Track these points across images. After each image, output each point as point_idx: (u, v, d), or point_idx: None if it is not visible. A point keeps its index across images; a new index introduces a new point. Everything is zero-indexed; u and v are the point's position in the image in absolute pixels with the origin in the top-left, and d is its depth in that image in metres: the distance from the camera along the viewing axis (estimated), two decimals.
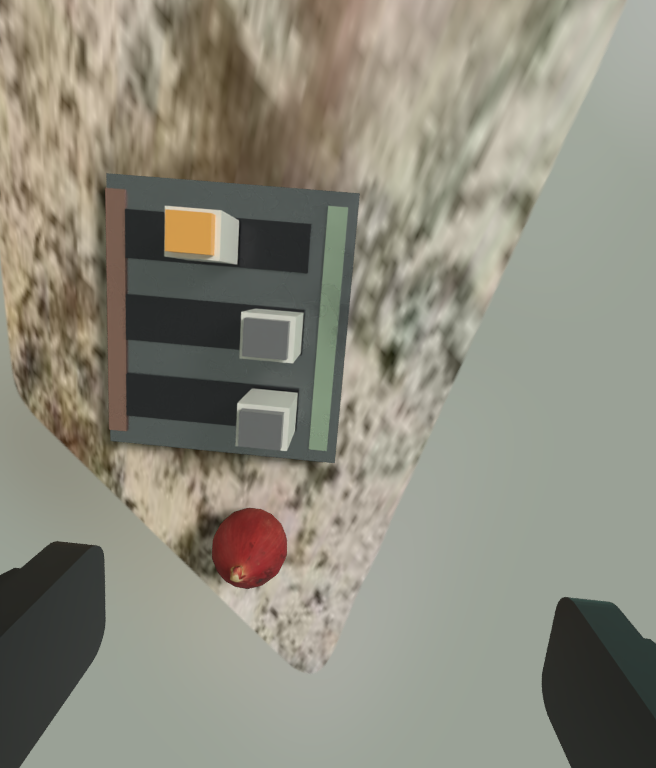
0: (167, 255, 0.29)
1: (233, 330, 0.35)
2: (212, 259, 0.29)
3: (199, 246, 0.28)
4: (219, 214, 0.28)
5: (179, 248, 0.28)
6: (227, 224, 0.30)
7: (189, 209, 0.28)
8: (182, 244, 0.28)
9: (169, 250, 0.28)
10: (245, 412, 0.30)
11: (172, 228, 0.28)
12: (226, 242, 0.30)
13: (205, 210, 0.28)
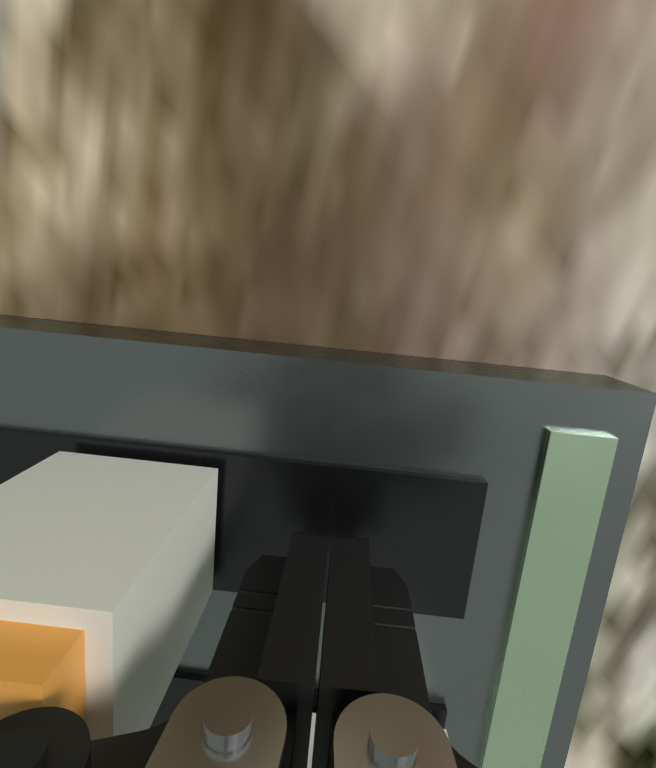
0: None
1: None
2: None
3: None
4: (103, 629, 0.06)
5: None
6: (161, 581, 0.07)
7: None
8: None
9: None
10: None
11: None
12: (158, 647, 0.07)
13: (33, 609, 0.06)
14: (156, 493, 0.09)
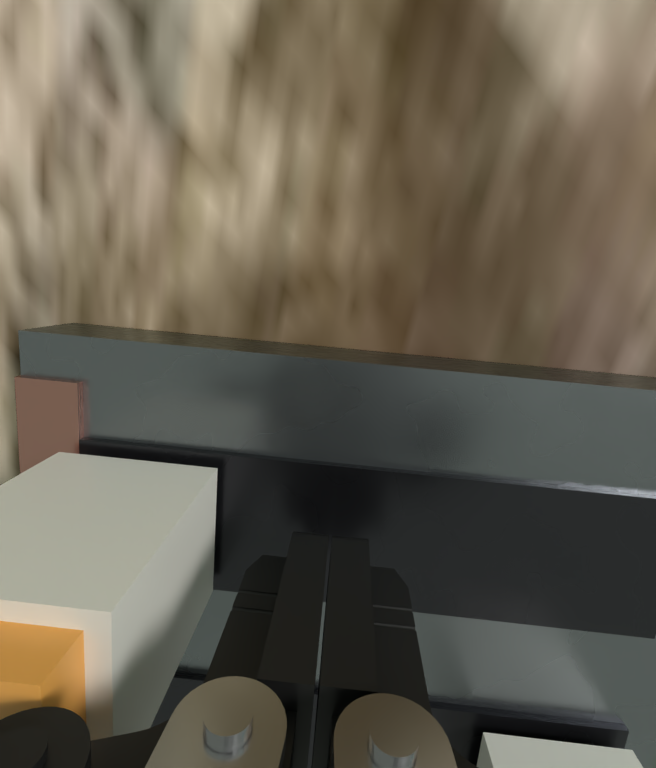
0: None
1: None
2: None
3: None
4: (102, 629, 0.06)
5: None
6: (160, 581, 0.07)
7: None
8: None
9: None
10: None
11: None
12: (158, 647, 0.07)
13: (32, 609, 0.06)
14: (155, 492, 0.09)
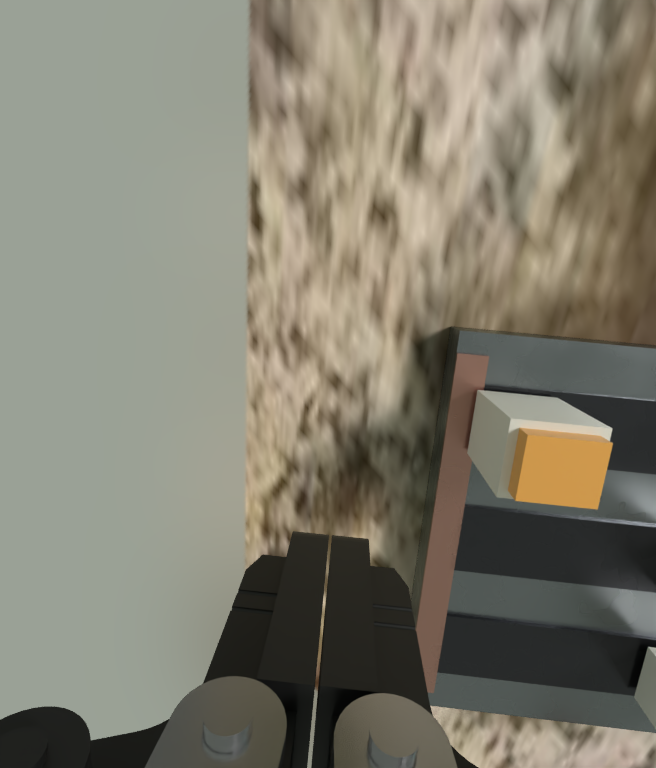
0: (502, 496, 0.17)
1: (629, 563, 0.22)
2: None
3: (580, 495, 0.16)
4: (608, 435, 0.16)
5: (542, 497, 0.16)
6: None
7: (554, 425, 0.16)
8: (549, 491, 0.16)
9: (522, 498, 0.16)
10: None
11: (535, 465, 0.16)
12: None
13: (583, 428, 0.16)
14: (552, 403, 0.19)
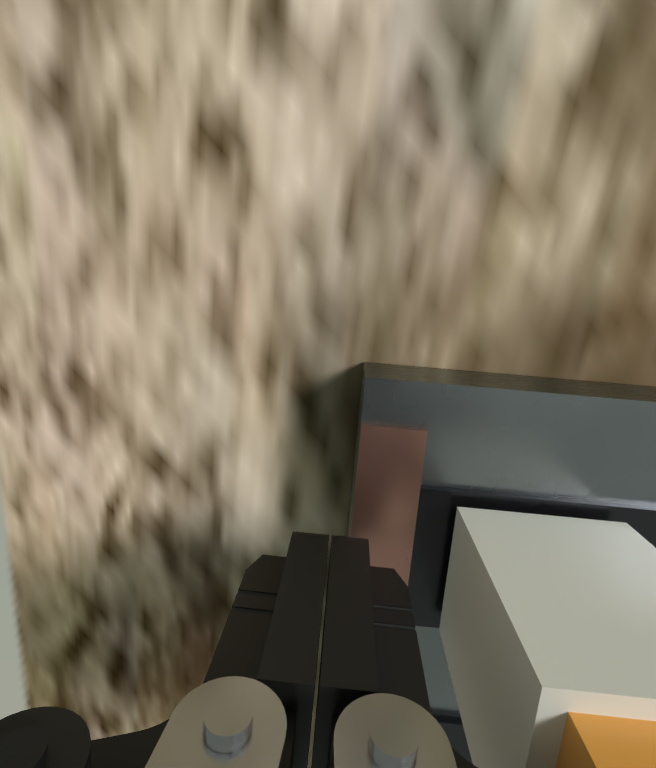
0: None
1: None
2: None
3: None
4: None
5: None
6: None
7: None
8: None
9: None
10: None
11: None
12: None
13: None
14: (627, 557, 0.08)
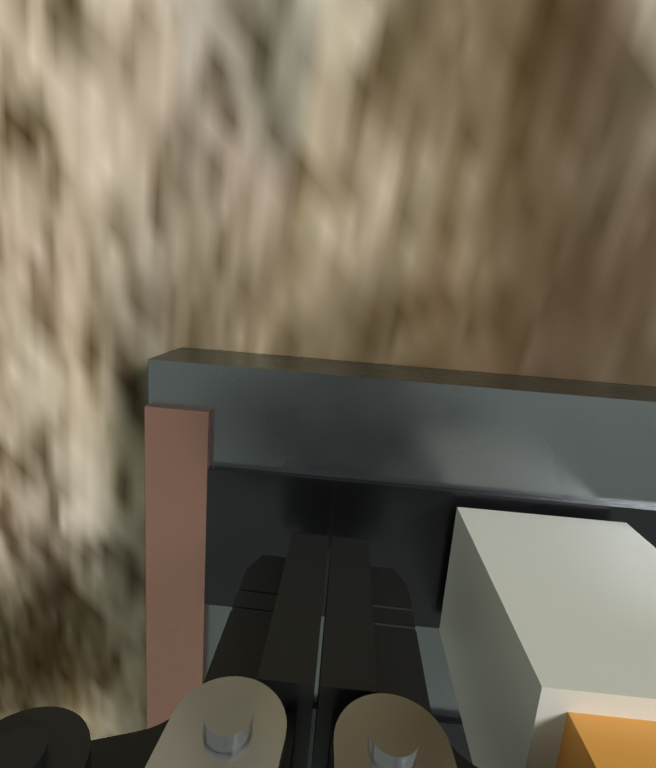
0: None
1: None
2: None
3: None
4: None
5: None
6: None
7: None
8: None
9: None
10: None
11: None
12: None
13: None
14: (626, 557, 0.08)
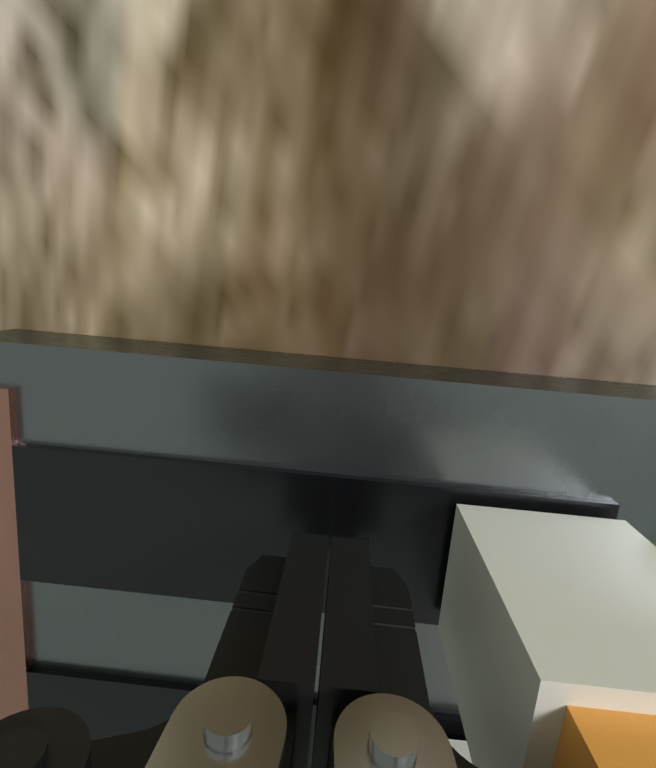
0: None
1: None
2: None
3: None
4: None
5: None
6: None
7: None
8: None
9: None
10: None
11: None
12: None
13: None
14: (625, 554, 0.08)
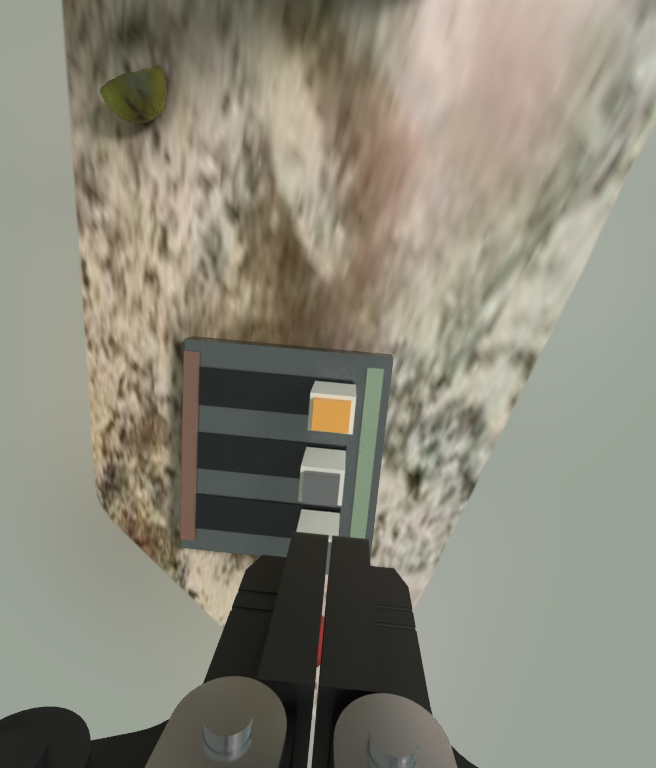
0: (310, 429, 0.36)
1: (286, 462, 0.42)
2: None
3: (339, 427, 0.35)
4: (354, 400, 0.35)
5: (323, 428, 0.35)
6: None
7: (330, 395, 0.35)
8: (326, 425, 0.35)
9: (314, 429, 0.35)
10: None
11: (318, 413, 0.35)
12: None
13: (343, 396, 0.35)
14: (346, 387, 0.38)
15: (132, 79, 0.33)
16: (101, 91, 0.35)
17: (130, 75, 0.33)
